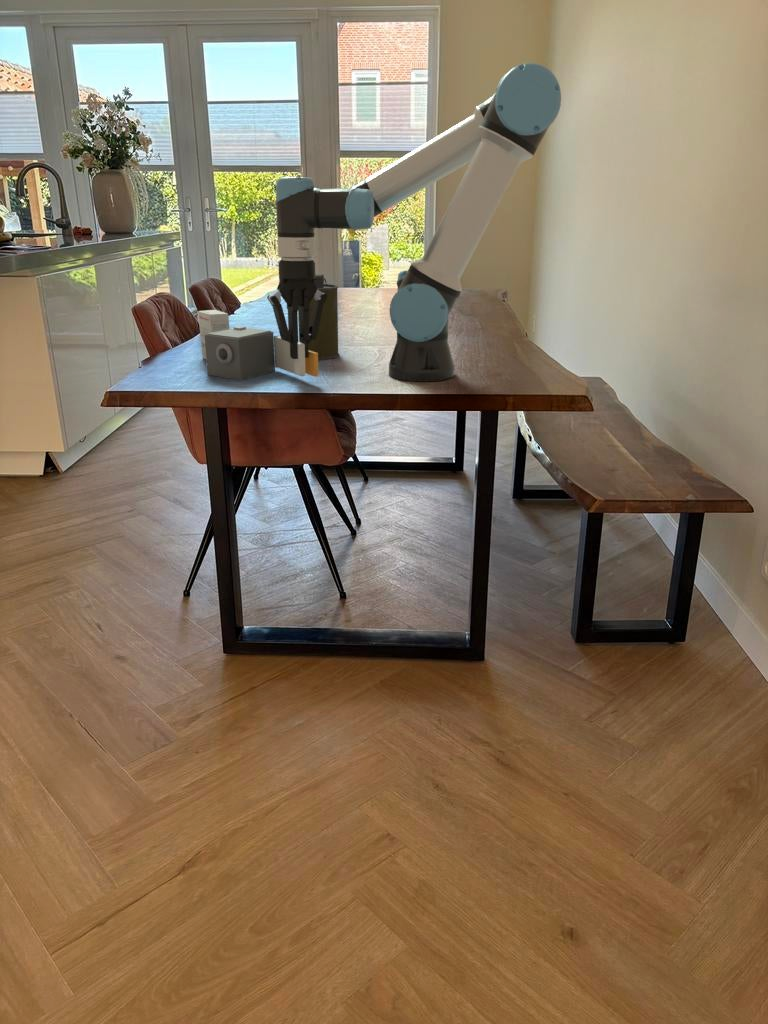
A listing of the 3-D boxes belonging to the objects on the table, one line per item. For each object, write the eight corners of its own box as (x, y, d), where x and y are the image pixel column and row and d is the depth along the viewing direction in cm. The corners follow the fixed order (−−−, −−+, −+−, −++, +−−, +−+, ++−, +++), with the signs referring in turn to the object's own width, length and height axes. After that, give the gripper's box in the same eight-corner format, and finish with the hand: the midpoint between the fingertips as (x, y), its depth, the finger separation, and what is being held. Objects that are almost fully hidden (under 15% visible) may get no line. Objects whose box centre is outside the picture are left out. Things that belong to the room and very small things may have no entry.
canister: (338, 359, 192) (337, 277, 184) (296, 359, 192) (293, 276, 184) (340, 351, 202) (339, 272, 194) (300, 351, 202) (298, 272, 194)
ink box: (233, 362, 188) (230, 313, 184) (214, 364, 186) (210, 314, 181) (219, 356, 195) (216, 309, 190) (201, 358, 192) (196, 310, 188)
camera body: (275, 370, 179) (273, 328, 176) (238, 380, 169) (235, 336, 166) (242, 365, 184) (240, 324, 180) (204, 375, 174) (201, 331, 170)
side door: (278, 366, 179) (276, 335, 177) (319, 381, 166) (318, 347, 163) (274, 367, 179) (272, 335, 176) (315, 381, 165) (314, 348, 162)
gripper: (273, 261, 150) (278, 379, 159) (333, 259, 156) (334, 374, 165) (260, 258, 157) (265, 372, 165) (318, 257, 162) (320, 367, 171)
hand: (300, 373), depth 165 cm, fingers closed
